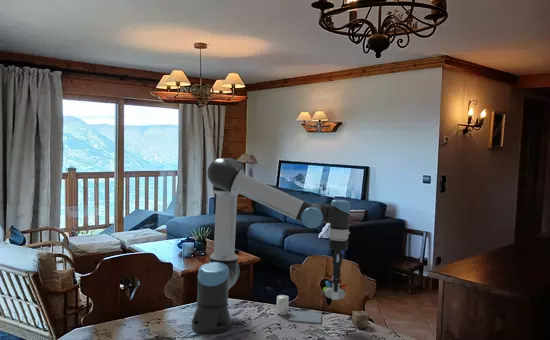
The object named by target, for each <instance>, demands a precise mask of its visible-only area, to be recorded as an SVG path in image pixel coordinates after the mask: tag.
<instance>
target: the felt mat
mask: <svg viewBox="0 0 550 340" xmlns="http://www.w3.org/2000/svg"><path fill="white" fill-rule="evenodd" d="M322 315H323V314H322V312H311V311H310V312H309V311H299V310H290V313H289V316H288V322H291V321H293V322H294V323H303V324H304V323H305V324H314V325H316V324H317V325H321V324H322Z"/></svg>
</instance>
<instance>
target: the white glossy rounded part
mask: <svg viewBox="0 0 550 340" xmlns="http://www.w3.org/2000/svg"><path fill="white" fill-rule="evenodd" d="M289 299H290V297H289V296H288V295H285V294H279V295H277V296H276V315H278V314H280V315H279V316H286V315H287V314H289Z"/></svg>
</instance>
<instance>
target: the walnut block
mask: <svg viewBox="0 0 550 340" xmlns="http://www.w3.org/2000/svg"><path fill="white" fill-rule="evenodd" d="M352 323H353V324H352ZM351 324H352V325H353V326H354V328H355V327H368V328H369V314H367V312H366V311H364V310H352V315H351Z"/></svg>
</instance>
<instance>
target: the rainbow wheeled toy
mask: <svg viewBox="0 0 550 340" xmlns="http://www.w3.org/2000/svg"><path fill="white" fill-rule="evenodd" d="M331 281H333V278H331ZM331 281H328V280H326V281H325V287H323V288H322V292H324V295H325V297H326V298H328V299H331V298H332V283H331ZM342 281H343V280H342V279H341V278H340V285H339V300H343V299H344V298H345V297H346V296H347V295H348V291H347V289H346V288H347V287H348V285H347V284H345V283H343V284H341V283H342Z"/></svg>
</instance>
